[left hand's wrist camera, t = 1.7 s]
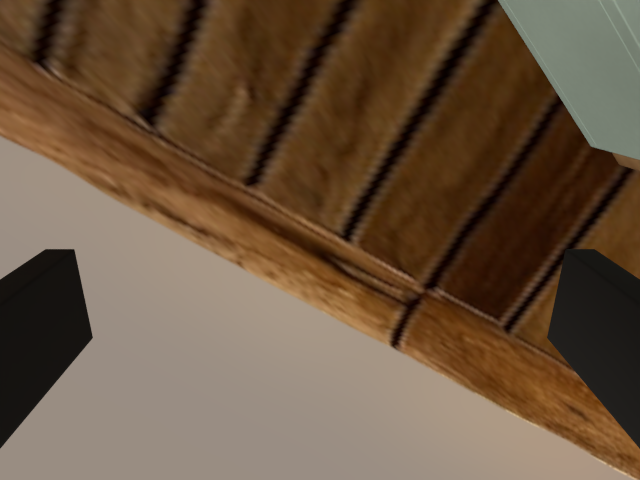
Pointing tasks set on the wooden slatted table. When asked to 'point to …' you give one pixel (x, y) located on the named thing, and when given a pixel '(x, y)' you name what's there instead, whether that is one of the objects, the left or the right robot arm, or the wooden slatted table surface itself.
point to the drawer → (627, 161)
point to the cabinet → (589, 63)
